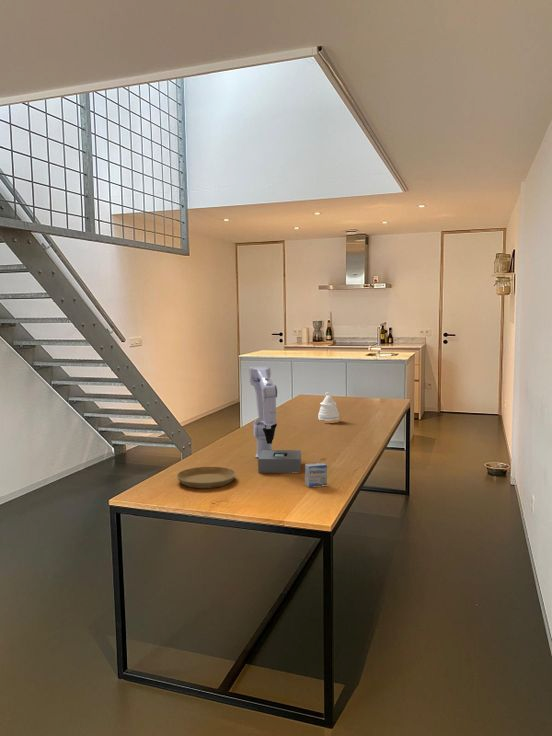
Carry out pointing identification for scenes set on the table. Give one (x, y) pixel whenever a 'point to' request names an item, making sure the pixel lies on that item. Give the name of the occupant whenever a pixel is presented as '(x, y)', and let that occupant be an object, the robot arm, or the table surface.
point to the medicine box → (315, 474)
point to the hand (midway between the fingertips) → (270, 441)
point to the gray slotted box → (279, 461)
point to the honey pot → (328, 409)
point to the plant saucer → (206, 477)
